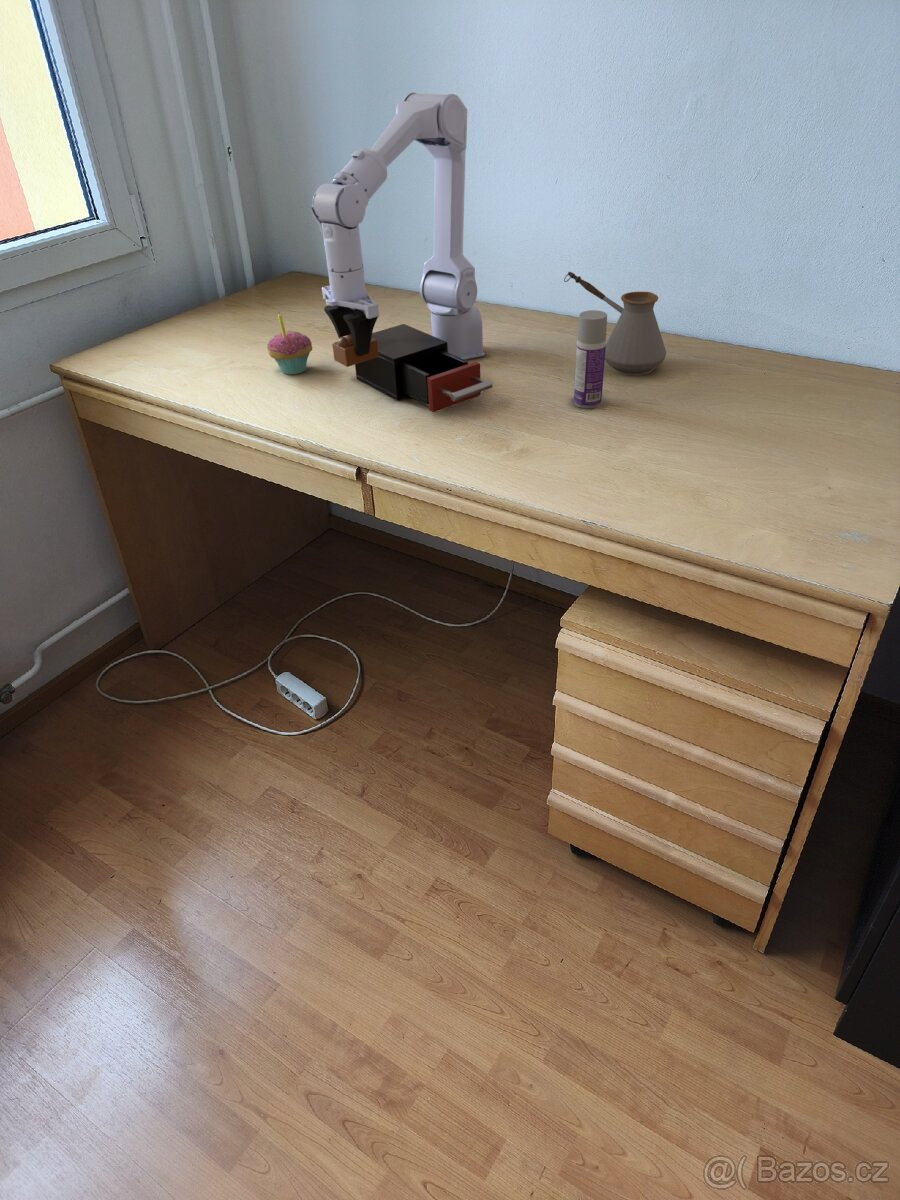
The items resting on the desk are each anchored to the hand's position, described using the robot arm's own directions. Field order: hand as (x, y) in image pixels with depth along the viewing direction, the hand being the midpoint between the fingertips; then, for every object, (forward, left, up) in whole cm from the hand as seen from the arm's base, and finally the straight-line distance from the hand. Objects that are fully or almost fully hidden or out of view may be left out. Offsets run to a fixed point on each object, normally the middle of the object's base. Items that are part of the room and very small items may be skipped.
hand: (355, 350), depth 136 cm
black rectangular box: (-9, -5, -9) cm, 14 cm away
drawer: (-13, +7, -8) cm, 17 cm away
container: (-34, +20, -9) cm, 41 cm away
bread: (0, 0, -1) cm, 1 cm away
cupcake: (+8, -20, -9) cm, 24 cm away
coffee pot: (-47, +6, -9) cm, 49 cm away
